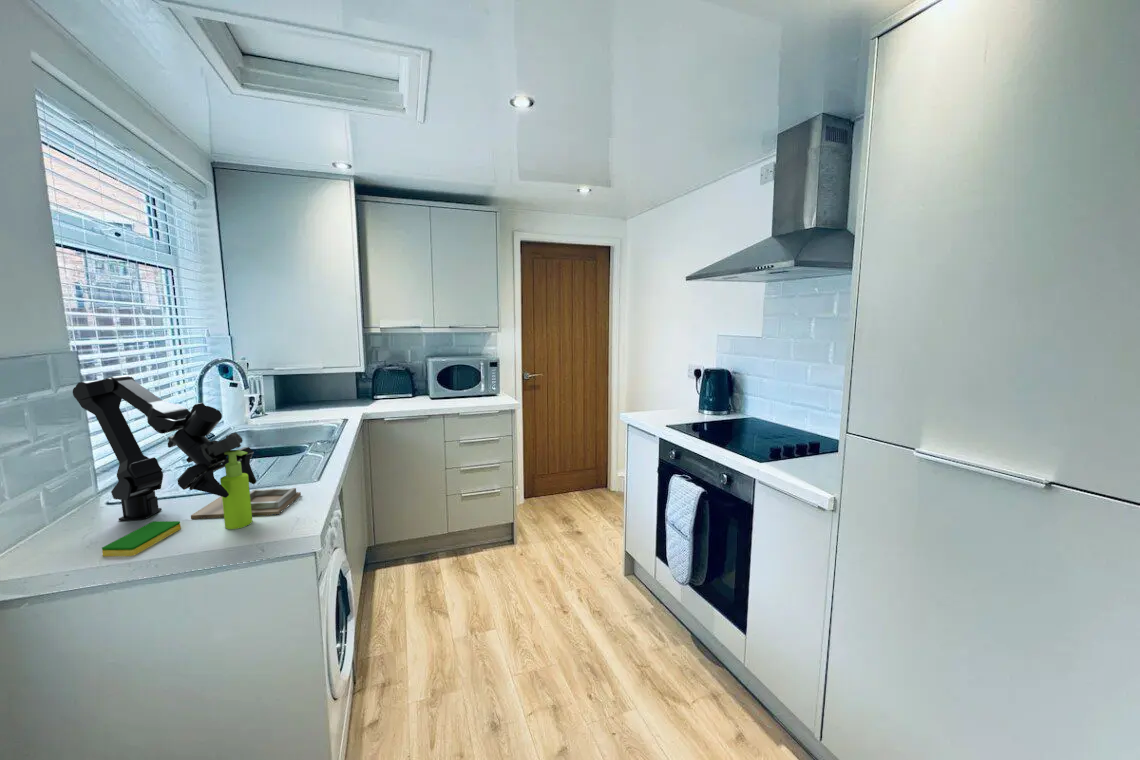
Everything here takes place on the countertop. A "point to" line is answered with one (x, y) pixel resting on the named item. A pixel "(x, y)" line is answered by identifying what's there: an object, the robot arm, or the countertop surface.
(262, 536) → the countertop surface
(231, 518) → the soap dispenser
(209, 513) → the walnut holder board
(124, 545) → the dish sponge
